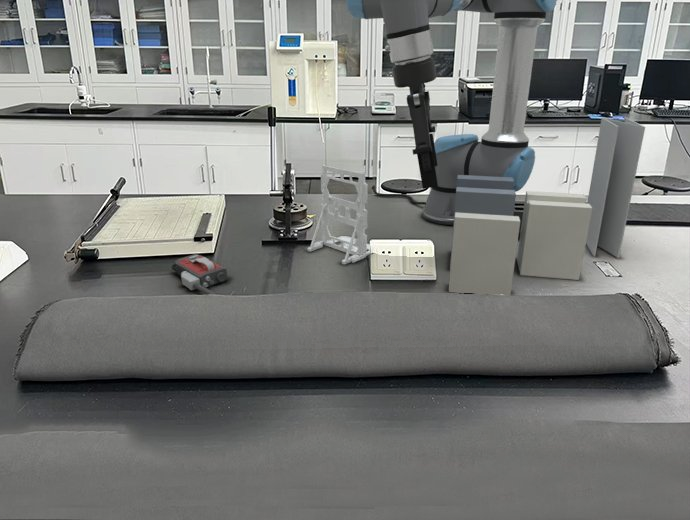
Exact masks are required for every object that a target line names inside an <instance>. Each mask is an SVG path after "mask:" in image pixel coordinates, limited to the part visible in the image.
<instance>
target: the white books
mask: <svg viewBox="0 0 690 520" xmlns="http://www.w3.org/2000/svg"><path fill="white" fill-rule="evenodd" d="M587 201H588V197H587V196H586V195H585V194H584V193H572V192H568V193H567V192H554V191H553V192H551V191H533V190H532V191H531V190H530V191H529V190H526V191H525V197H524V204H523V211H522V212H523V218H522V226H521V233H520V240H518V247H517V248H518V249H517V254H516V255H517V257H516V261H517V266H518V267H517V268H518V271H519V276H525V277H526V276H527V277H537V278H550V279H561V280H562V279H563V280H574V281H579V280H580V277H581V270H582V266H583V262H584V261H583V260H584V255H585V250H586V246H587V244H586V240H587V234H588V229H589V224H590V218H591V213H592V207H591V205H590V204H587Z"/></svg>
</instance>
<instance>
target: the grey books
mask: <svg viewBox="0 0 690 520" xmlns="http://www.w3.org/2000/svg"><path fill="white" fill-rule="evenodd" d="M513 186H514V180H513V178H512V177H492V176H471V175H458V176H457V188H456V200H455V212H454V221H455V213H472V214H488V215H504V216H513V214H514V212H515V205H516V199H517V193H516V192H515V190H513ZM453 233H454V224H453V225H452V234H453ZM452 245H453V235H452V237H451V246H452ZM451 257H452V247H451V249H450V258H451ZM450 269H451V259H450V261H449V270H450Z"/></svg>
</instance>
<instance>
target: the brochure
mask: <svg viewBox="0 0 690 520" xmlns="http://www.w3.org/2000/svg"><path fill="white" fill-rule="evenodd" d="M645 130H646V126H644V125H642V124H640V123H638V122H636V121H634V120H633V119H630V118H628V117H625V119H624V121H621V120H616V119H612V118H607V117H601V119H600V125H599V131H598V137H597V143H596V148H595V155H594V162H593V166H592V172H591V178H590V185H589V190H588V197H587V201H586V204H590V205H591V207H592V213H591V218H590V224H589V229H588V234H587V240H586V246H587V248H588V249H589V251H590V253H591V254H592V256H593V257H596V255H597V248H598V247H599V248H601V249H602V250H604V251H606V252H607V253H609V254H611V255H612V256H614V257H615V258H617V259H619V258H620V257H621V251H622V250H621V249H622V245H623V241H624V240H623V239H624V237H625V236H624V235H625V230H626V225H627V221H628V215H629V210H630V206H631V201H632V197H633V190H634V185H635V181H636V175H637V171H638V166H639V161H640V155H641V151H642V146H643V140H644V136H645V132H646V131H645Z"/></svg>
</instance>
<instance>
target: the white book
mask: <svg viewBox="0 0 690 520" xmlns="http://www.w3.org/2000/svg"><path fill="white" fill-rule="evenodd" d="M519 227H520V219H519V216H504V215H488V214H472V213H455V221H454V233H453V232H452V236H453V245H452V244H451V248H452V257H451V256H450V260H451V269H450V268H449V280H448V281H449V282H448V293H455V294H464V293H478V294H504V295H510V296H511V293H512V286H513V279H514V270H515V263H516V258H517V257H516V255H517V250H518V249H517V248H518V243H519V240H518V234H519Z"/></svg>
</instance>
